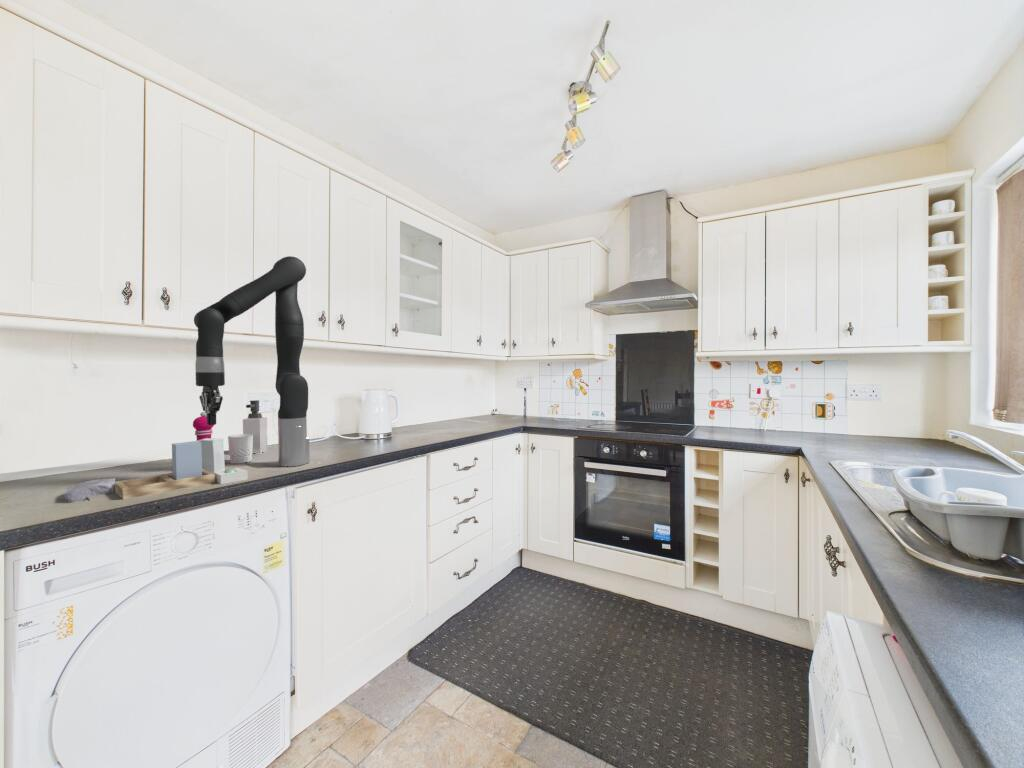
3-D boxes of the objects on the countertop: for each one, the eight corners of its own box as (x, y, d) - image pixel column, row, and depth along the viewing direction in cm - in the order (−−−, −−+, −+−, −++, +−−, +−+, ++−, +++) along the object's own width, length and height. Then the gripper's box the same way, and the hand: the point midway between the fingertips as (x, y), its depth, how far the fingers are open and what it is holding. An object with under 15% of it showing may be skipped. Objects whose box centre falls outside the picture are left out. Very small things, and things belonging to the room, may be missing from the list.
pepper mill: (203, 471, 138) (202, 413, 138) (186, 470, 140) (184, 412, 139) (222, 466, 146) (221, 411, 145) (205, 465, 147) (204, 410, 146)
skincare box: (225, 474, 135) (225, 437, 134) (214, 477, 130) (213, 440, 130) (209, 473, 135) (208, 437, 135) (197, 477, 131) (196, 439, 131)
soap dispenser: (240, 455, 166) (239, 401, 165) (251, 451, 174) (250, 400, 174) (257, 454, 167) (256, 401, 166) (267, 450, 175) (266, 400, 175)
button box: (239, 478, 129) (238, 467, 129) (247, 482, 125) (247, 470, 125) (212, 483, 123) (212, 471, 123) (221, 487, 119) (220, 475, 119)
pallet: (203, 480, 127) (202, 469, 127) (215, 486, 120) (214, 474, 120) (115, 495, 111) (114, 482, 111) (123, 503, 105) (123, 489, 105)
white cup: (223, 463, 151) (222, 436, 151) (242, 459, 158) (242, 433, 158) (239, 464, 149) (238, 437, 148) (258, 460, 156) (258, 434, 156)
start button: (233, 476, 126) (233, 468, 126) (236, 477, 124) (236, 469, 124) (223, 478, 124) (223, 470, 124) (226, 479, 122) (226, 471, 122)
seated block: (197, 480, 123) (197, 440, 123) (202, 482, 121) (201, 442, 120) (172, 484, 118) (171, 443, 118) (176, 486, 116) (175, 445, 116)
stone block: (66, 511, 104) (119, 495, 111) (60, 493, 104) (114, 478, 111) (69, 502, 113) (118, 488, 120) (64, 486, 112) (113, 473, 119)
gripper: (231, 371, 130) (233, 425, 131) (216, 371, 138) (217, 422, 138) (203, 371, 124) (205, 427, 124) (188, 371, 132) (190, 424, 132)
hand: (211, 424), depth 131 cm, fingers closed
